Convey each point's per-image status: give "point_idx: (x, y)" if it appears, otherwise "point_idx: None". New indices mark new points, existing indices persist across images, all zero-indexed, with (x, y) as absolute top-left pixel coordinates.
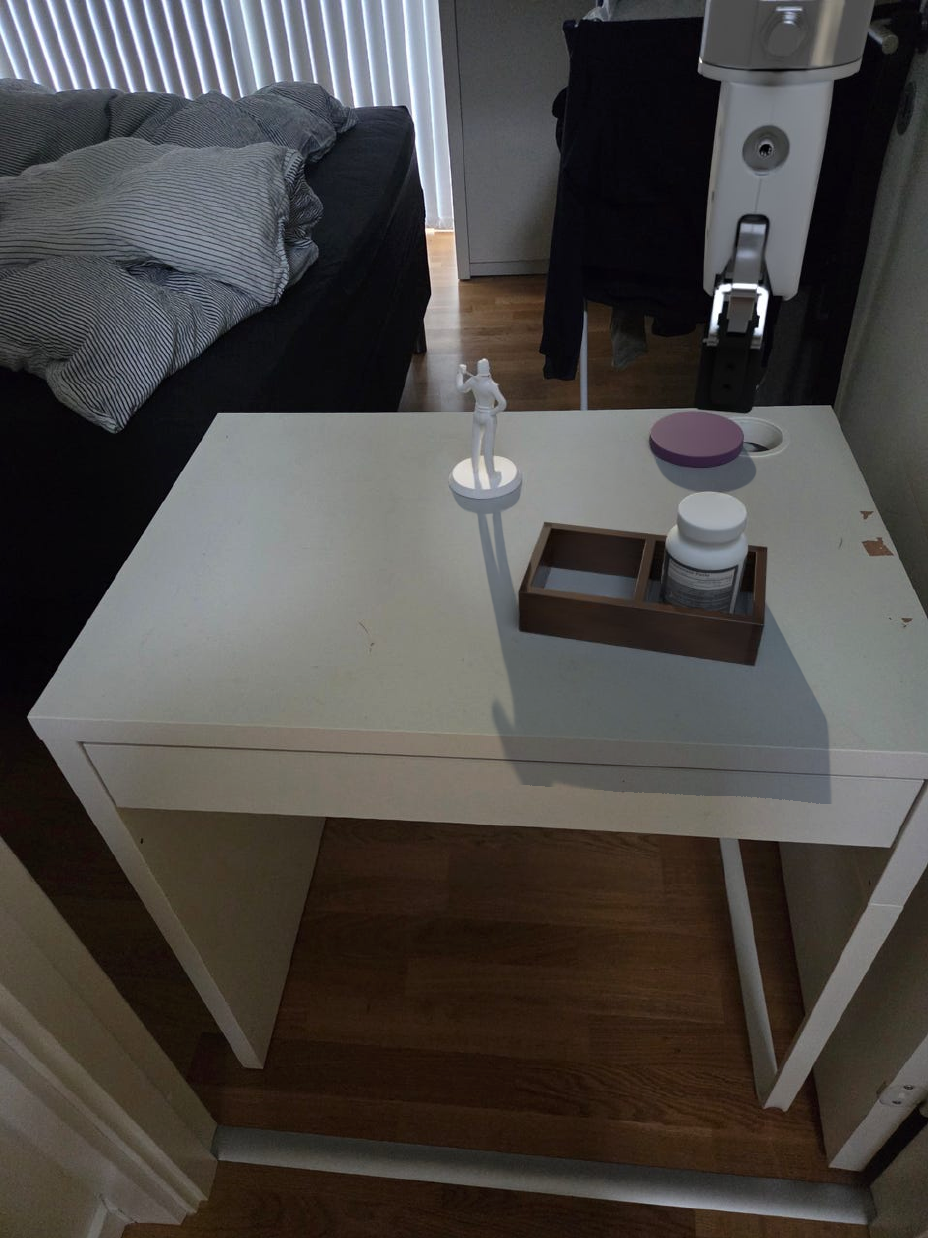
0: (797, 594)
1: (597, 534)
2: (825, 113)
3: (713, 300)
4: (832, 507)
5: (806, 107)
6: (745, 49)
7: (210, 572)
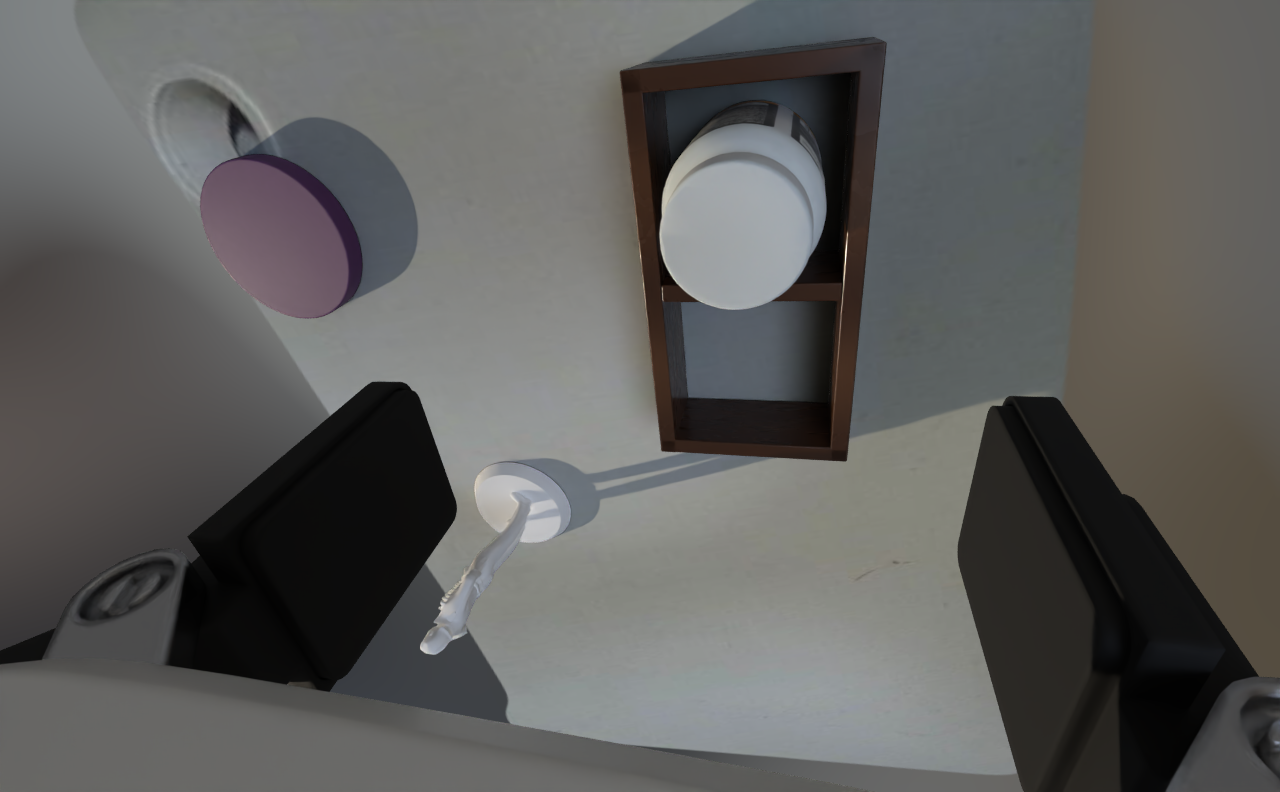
0: None
1: (669, 375)
2: None
3: (389, 611)
4: None
5: None
6: None
7: (794, 708)
